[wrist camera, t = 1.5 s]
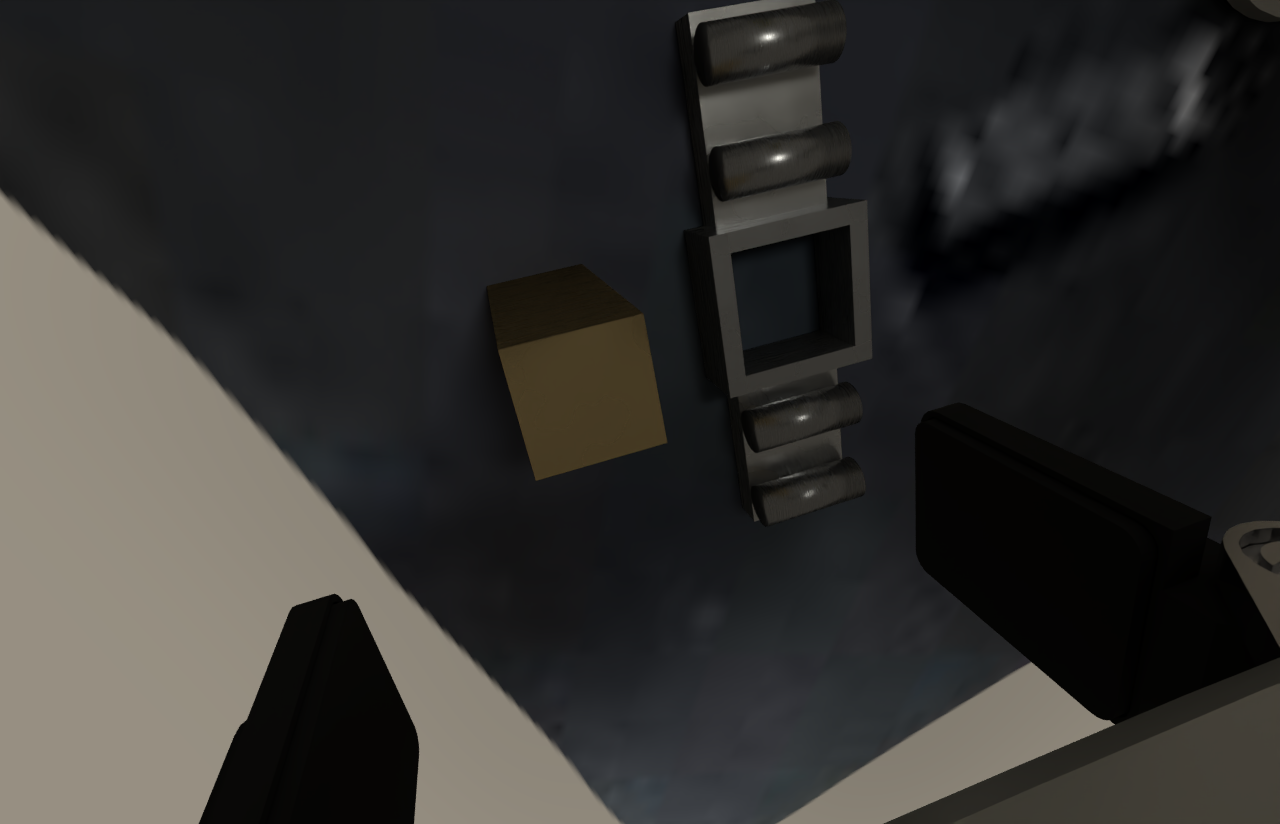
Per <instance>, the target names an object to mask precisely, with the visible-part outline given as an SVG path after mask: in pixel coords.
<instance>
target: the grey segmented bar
mask: <svg viewBox="0 0 1280 824" xmlns="http://www.w3.org/2000/svg"><path fill="white" fill-rule="evenodd" d="M676 29H677V36H678V44H679V51H680V58H681V65H682V73H683V80H684V87H685V94H686V102H687V109H688V116H689V123H690V131H691V138H692V145H693V153H694V160H695V167H696V174H697V182H698V189H699V196H700V203H701V211H702V218H703V225H704V226H700V227H696V228H692V229H687V230H684V234H685V241H686V248H687V254H688V261H689V268H690V274H691V281H692V288H693V294H694V301H695V307H696V314H697V321H698V327H699V334H700V341H701V347H702V354H703V361H704V367H705V374H706V378H707V379H709V380H710V381H711V382H712V383H713V384H714V385H716V386H717V387H718V388H719V389H720V390H721V391H723V392H724V393H725V394H726V395H727V399H728V407H729V414H730V421H731V428H732V436H733V443H734V450H735V458H736V465H737V472H738V479H739V487H740V494H741V501H742V507H743V508H744V510H745V511H746V512H747V513H748V515H749V516H750V517H751V518H752V519H753V521H754V522H755V521H758V520H760V522H761V523H762V524H763V525H764V526H765V527H768V526H771V525H774V524H777V523H780V522H783V521H786V520H789V519H792V518H796V517H799V516H802V515H805V514H808V513H811V512H814V511H817V510H820V509H824V508H827V507H830V506H833V505H836V504H839V503H842V502H845V501H848V500H852V499H855V498H858V497H861V496H863V495H864V493H865V490H866V484H865V479H864V475H863V473H862V470H861V468H860V467H859V465H858V464H857V462H856V461H855V460H854V459H852V458H850V457H846V458H843V459H842V449H841V432H840V428H843V427H846V426H850V425H853V424H856V423H859V422H860V420H861V418H862V403H861V400H860V397H859V395H858V393H857V391H856V389H855V388H854V387H853V386H852V385H851V384H850V383H848V382H842V383H838V381H837V368H840V367H843V366H847V365H851V364H854V363H858V362H861V361H865V360H868V359H872V335H871V306H870V276H869V247H868V217H867V200H860V199H846V198H832V197H827V194H826V179H827V178H831V177H835V176H840V175H842V174H844V173H845V172H846V170H847V169H848V167H849V164H850V160H851V140H850V136H849V133H848V131H847V129H846V127H845V126H844V125H843V124H842V123H841V122H839V121H834V122H829V123H824V124H822V109H821V92H820V75H819V65H824V64H829V63H834V62H835V61H837V60H838V59H839V57H840V55H841V54H842V51H843V48H844V45H845V40H846V19H845V14H844V11H843V8H842V6H841V5H840V3H839V2H838V1H836V0H827V1H822V2H816V3H815V0H761V1H755V2H749V3H743V4H737V5H732V6H726V7H720V8H714V9H708V10H702V11H696V12H690V13H687V14H686V15H685V16H683V17H682V18H680V19H679V20H678V21H676ZM813 233H814V248H815V263H816V277H817V292H818V306H819V321H820V330H818V331H815V332H811V333H807V334H804V335H800V336H796V337H792V338H789V339H785V340H781V341H777V342H774V343H770V344H766V345H763V346H759V347H755V348H751V349H748V350H744V351H743V350H742V342H741V334H740V326H739V318H738V309H737V301H736V293H735V285H734V277H733V269H732V261H731V253H734V252H738V251H742V250H747V249H751V248H755V247H759V246H763V245H767V244H772V243H776V242H780V241H784V240H788V239H792V238H797V237H801V236H805V235H809V234H813Z"/></svg>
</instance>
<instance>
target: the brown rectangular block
mask: <svg viewBox="0 0 1280 824" xmlns="http://www.w3.org/2000/svg"><path fill="white" fill-rule="evenodd" d="M487 291H488V297H489V302H490V308H491V314H492V319H493V325H494V331H495V336H496V342H497V348H498V352H499V355H500V359H501V362H502V366H503V369H504V373H505V376H506V380H507V383H508V386H509V390H510V393H511V397H512V400H513V404H514V407H515V410H516V414H517V417H518V421H519V424H520V428H521V431H522V435H523V438H524V441H525V445H526V448H527V452H528V455H529V459H530V462H531V466H532V469H533V472H534V476H535V479H536V481H537V480H540V479H544V478H547V477H551V476H554V475H558V474H561V473H565V472H568V471H571V470H575V469H578V468H582V467H585V466H589V465H592V464H596V463H599V462H603V461H606V460H610V459H613V458H616V457H620V456H623V455H627V454H630V453H634V452H637V451H641V450H644V449H648V448H651V447H655V446H658V445H661V444H665V443H667V438H666V433H665V428H664V422H663V417H662V411H661V406H660V401H659V395H658V390H657V385H656V379H655V374H654V368H653V363H652V358H651V352H650V347H649V342H648V336H647V331H646V326H645V320H644V315H643V313H642V312H641V311H640V310H638V309H637V308H636V307H635V306H633V305H632V304H631V303H630V302H628V301H627V300H626V299H625V298H623V297H622V296H621V295H620V294H618V293H617V292H616V291H615V290H613V289H612V288H611V287H610V286H608V285H607V284H606V283H605V282H604V281H602V280H601V279H600V278H599V277H597V276H596V275H595V274H594V273H592V272H591V271H590V270H589V269H587V268H586V267H585V266H584V265H582V264H579V265H575V266H570V267H566V268H562V269H557V270H553V271H549V272H545V273H540V274H536V275H532V276H527V277H523V278H519V279H515V280H510V281H506V282H502V283H497V284H493V285H489V286H487Z"/></svg>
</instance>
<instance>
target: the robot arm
mask: <svg viewBox="0 0 1280 824" xmlns="http://www.w3.org/2000/svg"><path fill="white" fill-rule="evenodd" d="M1227 1H1228V2H1229V3H1230V5H1231V6H1232V7H1233V8H1234V9H1236V10H1237V11H1239V12H1240V13H1242V14H1243V15H1245V16H1247V17H1248V18H1251V19H1255V20H1259V21H1263V22H1277V21H1280V0H1227ZM915 474H916V554H917V557H918V560H919V562H920V564H921V566H922V567H923V569H924V570H925V571H926V572H927V573H928V574H929V575H931V576H932V577H933V578H934V579H935V580H936V581H938V582H939V583H940V584H941V585H942V586H943V587H945V588H946V589H947V590H948V591H949V592H950V593H952V594H953V595H954V596H955V597H956V598H957V599H959V600H960V601H961V602H962V603H963V604H964V605H966V606H967V607H968V608H969V609H970V610H971V611H973V612H974V613H975V614H976V615H977V616H978V617H980V618H981V619H982V620H983V621H984V622H985V623H987V624H988V625H989V626H990V627H991V628H993V629H994V630H995V631H996V632H997V633H998V634H1000V635H1001V636H1002V637H1003V638H1004V639H1005V640H1007V641H1008V642H1009V643H1010V644H1011V645H1012V646H1014V647H1015V648H1016V649H1017V650H1018V651H1019V652H1021V653H1022V654H1023V655H1024V656H1025V657H1026V658H1028V659H1029V660H1030V661H1031V662H1032V663H1033V664H1035V665H1036V666H1037V667H1038V668H1039V669H1040V670H1042V671H1043V672H1044V673H1045V674H1046V675H1047V676H1049V677H1050V678H1051V679H1052V680H1053V681H1055V682H1056V683H1057V684H1058V685H1059V686H1060V687H1061V688H1063V689H1064V690H1065V691H1066V692H1067V693H1068V694H1070V695H1071V696H1072V697H1073V698H1074V699H1076V700H1077V701H1078V702H1079V703H1080V704H1081V705H1082V706H1084V707H1085V708H1086V709H1087V710H1088V711H1090V712H1091V713H1092V714H1094V715H1095V716H1096V717H1098V718H1100V719H1103V720H1110V721H1111V722H1112V723H1114V724H1115V725H1113V726H1111V727H1109V728H1106V729H1104V730H1102V731H1099V732H1097V733H1095V734H1092V735H1090V736H1087V737H1085V738H1083V739H1080V740H1078V741H1076V742H1073V743H1071V744H1069V745H1066V746H1064V747H1062V748H1059V749H1057V750H1054V751H1052V752H1050V753H1047V754H1045V755H1043V756H1040V757H1038V758H1036V759H1033V760H1031V761H1028V762H1026V763H1024V764H1021V765H1019V766H1017V767H1014V768H1012V769H1010V770H1007V771H1005V772H1003V773H1000V774H998V775H996V776H993V777H991V778H989V779H986V780H984V781H982V782H980V783H977V784H975V785H973V786H970V787H968V788H965V789H963V790H961V791H958V792H956V793H954V794H951V795H949V796H947V797H945V798H942V799H940V800H938V801H935V802H933V803H931V804H928V805H926V806H924V807H921V808H919V809H917V810H914V811H912V812H910V813H907V814H905V815H903V816H900V817H898V818H896V819H893V820H891V821H889V822H887V823H884V824H1280V521H1254V522H1248V523H1242V524H1238V525H1236V526H1234V527H1232V528H1230V529H1228V530H1227V532H1226V533H1225V535H1224V537H1223V538H1222V543H1221V544H1219V543H1217V542H1215V541H1213V540H1211V539H1209V538H1207V535H1208V530H1209V526H1210V521H1211V516H1208V515H1206V514H1204V513H1202V512H1200V511H1197V510H1195V509H1193V508H1191V507H1189V506H1187V505H1184V504H1182V503H1180V502H1178V501H1176V500H1173V499H1171V498H1169V497H1167V496H1165V495H1162V494H1160V493H1158V492H1156V491H1154V490H1152V489H1149V488H1147V487H1145V486H1143V485H1141V484H1138V483H1136V482H1134V481H1132V480H1130V479H1127V478H1125V477H1123V476H1121V475H1119V474H1117V473H1114V472H1112V471H1110V470H1108V469H1106V468H1103V467H1101V466H1099V465H1097V464H1095V463H1092V462H1090V461H1088V460H1086V459H1084V458H1082V457H1079V456H1077V455H1075V454H1073V453H1071V452H1068V451H1066V450H1064V449H1062V448H1060V447H1057V446H1055V445H1053V444H1051V443H1049V442H1047V441H1044V440H1042V439H1040V438H1038V437H1036V436H1033V435H1031V434H1029V433H1027V432H1025V431H1022V430H1020V429H1018V428H1016V427H1014V426H1012V425H1009V424H1007V423H1005V422H1003V421H1001V420H998V419H996V418H994V417H992V416H990V415H987V414H985V413H983V412H981V411H979V410H977V409H974V408H972V407H970V406H968V405H966V404H962V403H955V404H951V405H948V406H945V407H942V408H938V409H935V410H932V411H928V412H927V413H925V414H924V416H923V418H922V420H921V423H919V424H918V425H917V427H916V431H915ZM418 761H419V743H418V736H417V733H416V729H415V726H414V724H413V722H412V720H411V718H410V715H409V713H408V711H407V709H406V707H405V705H404V703H403V700H402V698H401V696H400V694H399V692H398V690H397V688H396V685H395V683H394V681H393V679H392V677H391V675H390V673H389V670H388V669H387V666H386V664H385V662H384V660H383V658H382V655H381V653H380V651H379V649H378V647H377V645H376V642H375V640H374V638H373V636H372V634H371V632H370V630H369V628H368V625H367V623H366V621H365V619H364V617H363V615H362V613H361V610H360V608H359V606H358V604H357V603H356V602H355V601H354V600H352V599H350V600H346V601H343V600H342V599H341V598H340V597H339V596H338V595H336V594H332V595H329V596H325V597H322V598H319V599H316V600H313V601H309V602H306V603H303V604H299V605H296V606H294V607H292V609H291V610H290V612H289V614H288V617H287V619H286V622H285V624H284V627H283V629H282V632H281V634H280V637H279V640H278V642H277V645H276V647H275V650H274V652H273V655H272V657H271V660H270V663H269V665H268V668H267V671H266V673H265V676H264V678H263V680H262V683H261V685H260V688H259V690H258V693H257V696H256V698H255V701H254V703H253V706H252V708H251V711H250V714H249V716H248V719H247V720H246V721H245V722H244V723H243V724H241V725H240V727H239V729H238V730H237V732H236V734H235V736H234V738H233V741H232V743H231V745H230V748H229V750H228V753H227V755H226V758H225V760H224V763H223V765H222V768H221V770H220V773H219V775H218V778H217V780H216V782H215V785H214V787H213V790H212V792H211V795H210V797H209V800H208V802H207V805H206V807H205V810H204V812H203V815H202V817H201V820H200V822H199V824H414V816H415V802H416V789H417V774H418Z"/></svg>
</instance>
